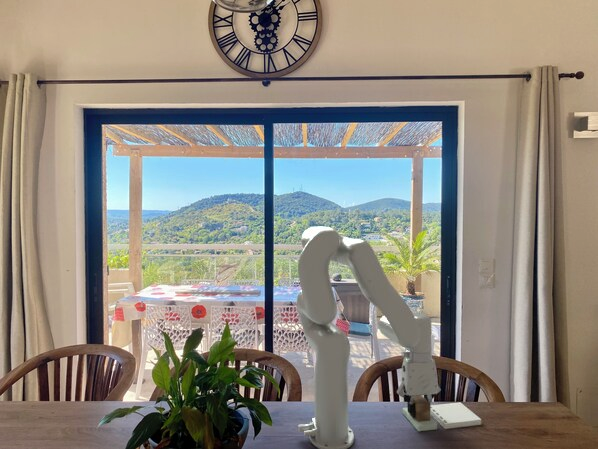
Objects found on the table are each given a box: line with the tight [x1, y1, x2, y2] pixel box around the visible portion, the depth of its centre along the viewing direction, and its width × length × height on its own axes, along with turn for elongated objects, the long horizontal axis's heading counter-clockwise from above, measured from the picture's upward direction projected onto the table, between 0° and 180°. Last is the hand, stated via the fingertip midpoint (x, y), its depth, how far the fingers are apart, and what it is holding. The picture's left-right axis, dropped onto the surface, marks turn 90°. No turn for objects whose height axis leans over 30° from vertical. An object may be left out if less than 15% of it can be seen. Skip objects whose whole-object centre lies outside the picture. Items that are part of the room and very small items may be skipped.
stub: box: [401, 395, 438, 432], centre depth 104 cm, size 6×10×6 cm, turn 10°
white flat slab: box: [430, 402, 482, 430], centre depth 106 cm, size 12×10×2 cm
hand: (419, 413), depth 104 cm, fingers closed on stub, 4 cm apart
